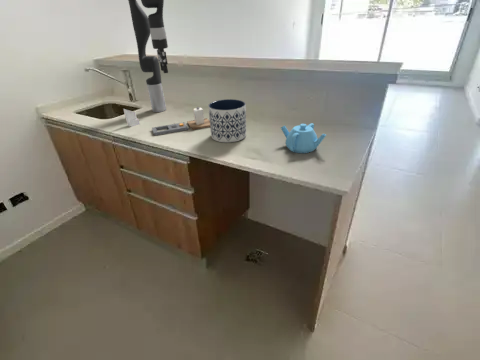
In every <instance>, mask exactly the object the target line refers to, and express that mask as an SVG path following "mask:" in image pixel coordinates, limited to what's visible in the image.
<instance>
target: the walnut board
mask: <svg viewBox="0 0 480 360" xmlns="http://www.w3.org/2000/svg"><path fill="white" fill-rule="evenodd" d="M186 122H187V124H186V125H187V126H189V128H190V129H191V131H194V130H200V129H207V128H210V119H208V117H207V118H205V117H204V124H199V125H197V124H196V123H195V119H194V120H188V121H186Z"/></svg>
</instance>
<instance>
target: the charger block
mask: <svg viewBox="0 0 480 360" xmlns="http://www.w3.org/2000/svg"><path fill="white" fill-rule="evenodd" d="M192 109H193V117H194V120H195V123H196V124H197V125H199V124H204V119H205V116H204V109H203V108H202V107H199V106H197V107H195V108H192Z"/></svg>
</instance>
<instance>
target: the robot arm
mask: <svg viewBox="0 0 480 360" xmlns="http://www.w3.org/2000/svg"><path fill="white" fill-rule="evenodd" d="M127 1H128V5H129V10H130V15H131V22H132V28H133V31H134V32H133V33H134V36H135V40H136V45H137V53H138V61H139V62H138V63H139V66H140V69H141V72H143V73H152V76H151V77H148V78H146V80H145V81H146V82H145V83H146V85H147V91H148V95H149V101H150V105H151V111H152V112H154V113H159V112H160V113H161V112H164V111H166V110H167V105H166V99H165V95H164V89H163V84H162V75H161V71H163V73H164V74H168V73H169V70H168V65H169V64H168V59H167V58H168V57H167V52H166V51H165V49H168V47H169V45H168V39H167V32H166V30H165V29H166V28H165V24H164V23H165V22H164V2H165V0H140V2H141V4H142V6H143V8H147V9H156V11H155V12H153V13H151V14H150V13H149V14H148V15H147V14H146V12H145V11H144V9H143V8H142V7H141V6H140V4H139V3H138V1H137V0H127ZM150 37H151V43H152V48H153V49H154V50H155V49H156V53H157V56H155V55H147V53H146V47H147V44H148V41H149V38H150Z"/></svg>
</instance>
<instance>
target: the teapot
mask: <svg viewBox="0 0 480 360" xmlns="http://www.w3.org/2000/svg"><path fill="white" fill-rule="evenodd" d="M314 127H315V124H314V123H312V122H311V123H309V124H306V123H300V124H299V125H295V126H293V128H291V129H290V131H289V129H288V128H287V127H286V125H283V126H282V127H280V129H281V131H282V134H284V137H285V147H287V149H288V150H289V151H291V152H293V153H296V154H308V153H309V152H310V153H313V151H315V150H316V149H317V147H319V145H320V144H321V143H322V142H323V141H324V139H325V138H326V137H327V134H326V133H322V134H321V135H320V136H319V137H318V135H317V133H316V131H315V130H314Z"/></svg>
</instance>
